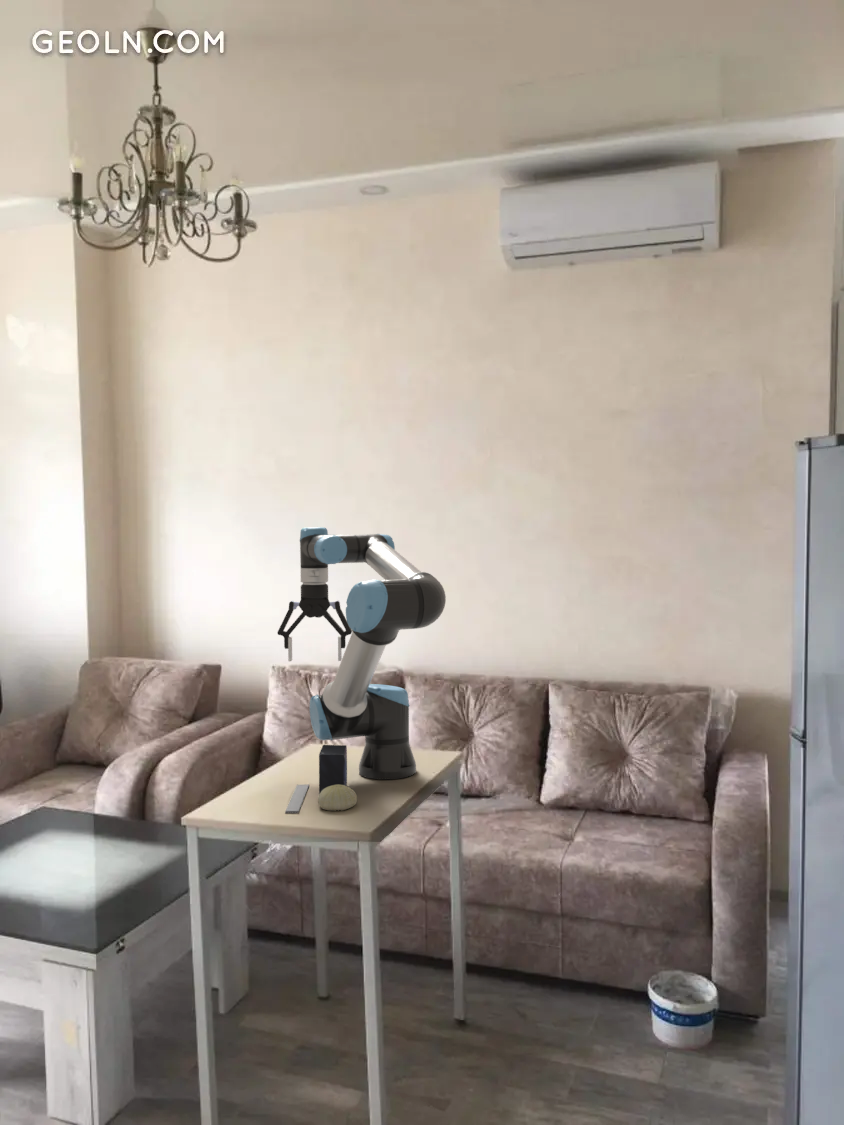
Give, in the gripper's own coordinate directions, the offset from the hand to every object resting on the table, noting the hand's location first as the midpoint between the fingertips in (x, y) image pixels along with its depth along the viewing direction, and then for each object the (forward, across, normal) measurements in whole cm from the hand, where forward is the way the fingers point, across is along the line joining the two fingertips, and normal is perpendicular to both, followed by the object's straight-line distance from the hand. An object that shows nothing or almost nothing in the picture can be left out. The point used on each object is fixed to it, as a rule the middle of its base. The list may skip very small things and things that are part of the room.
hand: (315, 660), depth 263 cm
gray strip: (+28, -1, -35) cm, 45 cm away
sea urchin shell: (+28, +8, -42) cm, 51 cm away
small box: (+28, +7, -28) cm, 41 cm away
